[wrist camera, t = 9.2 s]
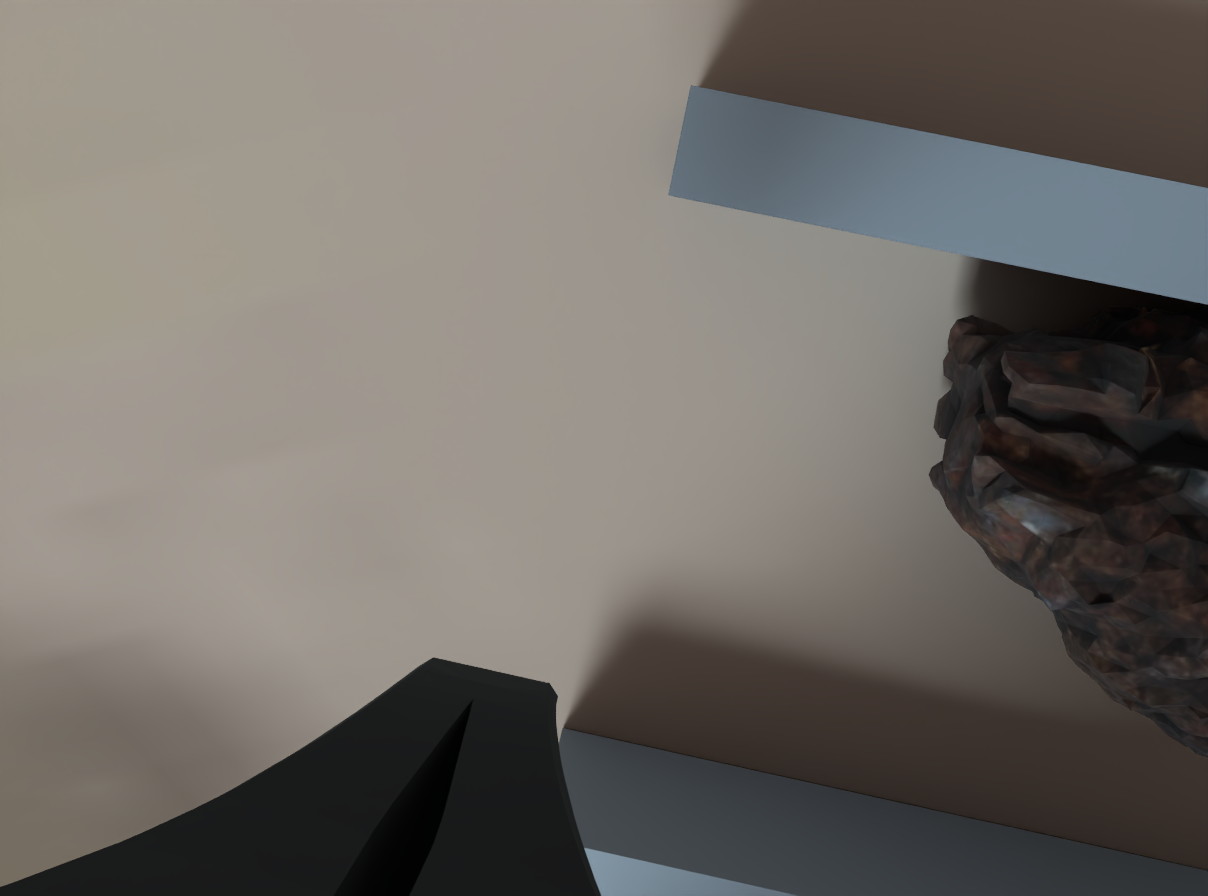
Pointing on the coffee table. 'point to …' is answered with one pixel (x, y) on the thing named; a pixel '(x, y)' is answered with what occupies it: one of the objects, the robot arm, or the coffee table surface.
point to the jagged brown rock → (1094, 491)
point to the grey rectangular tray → (938, 221)
